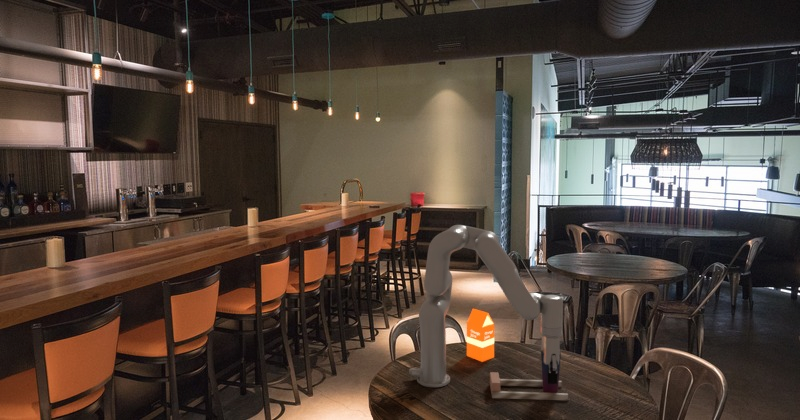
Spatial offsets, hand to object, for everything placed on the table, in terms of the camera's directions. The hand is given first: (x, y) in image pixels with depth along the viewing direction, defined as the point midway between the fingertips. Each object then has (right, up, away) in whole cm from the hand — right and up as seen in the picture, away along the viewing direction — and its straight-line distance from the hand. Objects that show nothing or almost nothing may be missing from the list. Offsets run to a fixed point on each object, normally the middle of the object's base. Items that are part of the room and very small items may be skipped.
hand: (550, 378), depth 184 cm
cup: (0, -5, +1) cm, 5 cm away
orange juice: (-20, -2, +35) cm, 40 cm away
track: (-8, -5, +1) cm, 9 cm away
